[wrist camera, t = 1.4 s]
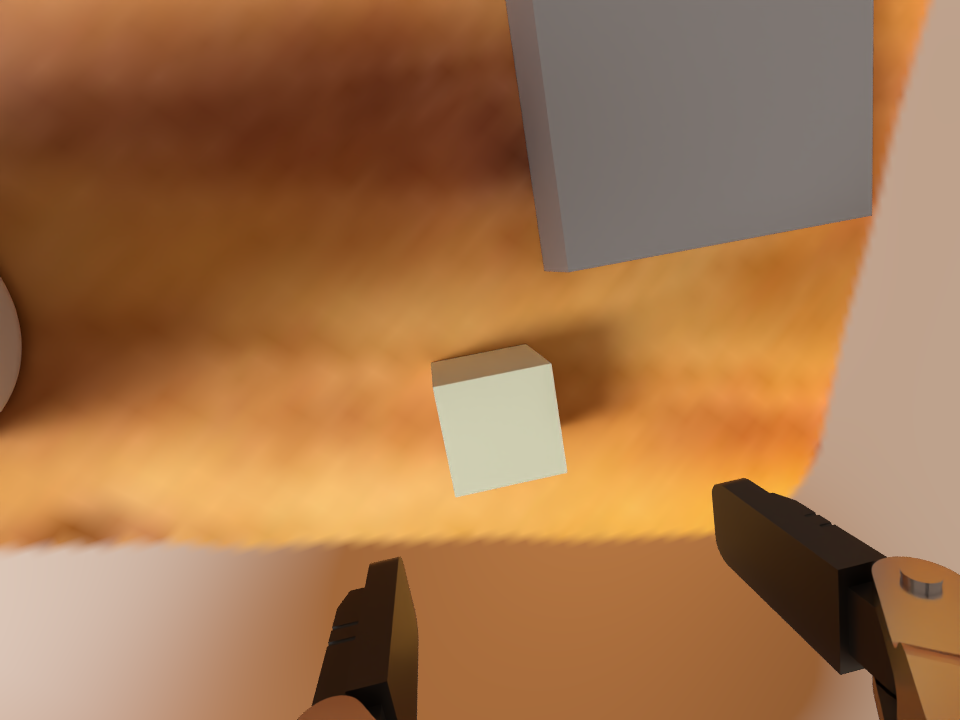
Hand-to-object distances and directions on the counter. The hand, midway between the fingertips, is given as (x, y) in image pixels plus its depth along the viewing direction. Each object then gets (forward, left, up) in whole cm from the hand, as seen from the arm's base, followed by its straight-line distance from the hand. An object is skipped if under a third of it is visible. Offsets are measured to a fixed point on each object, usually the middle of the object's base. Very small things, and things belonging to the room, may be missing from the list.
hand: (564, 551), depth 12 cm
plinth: (-13, +11, -13) cm, 22 cm away
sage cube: (0, 0, -13) cm, 13 cm away
